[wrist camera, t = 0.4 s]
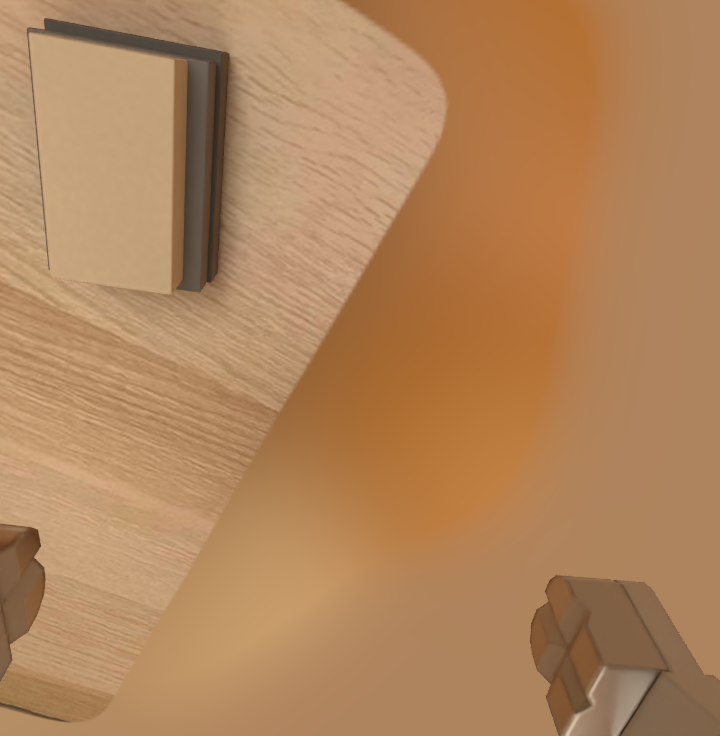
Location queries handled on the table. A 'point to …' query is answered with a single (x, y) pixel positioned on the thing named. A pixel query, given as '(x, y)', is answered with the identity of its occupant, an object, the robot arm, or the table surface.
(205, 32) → the table surface
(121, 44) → the grey books
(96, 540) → the table surface
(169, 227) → the beige block
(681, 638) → the robot arm
